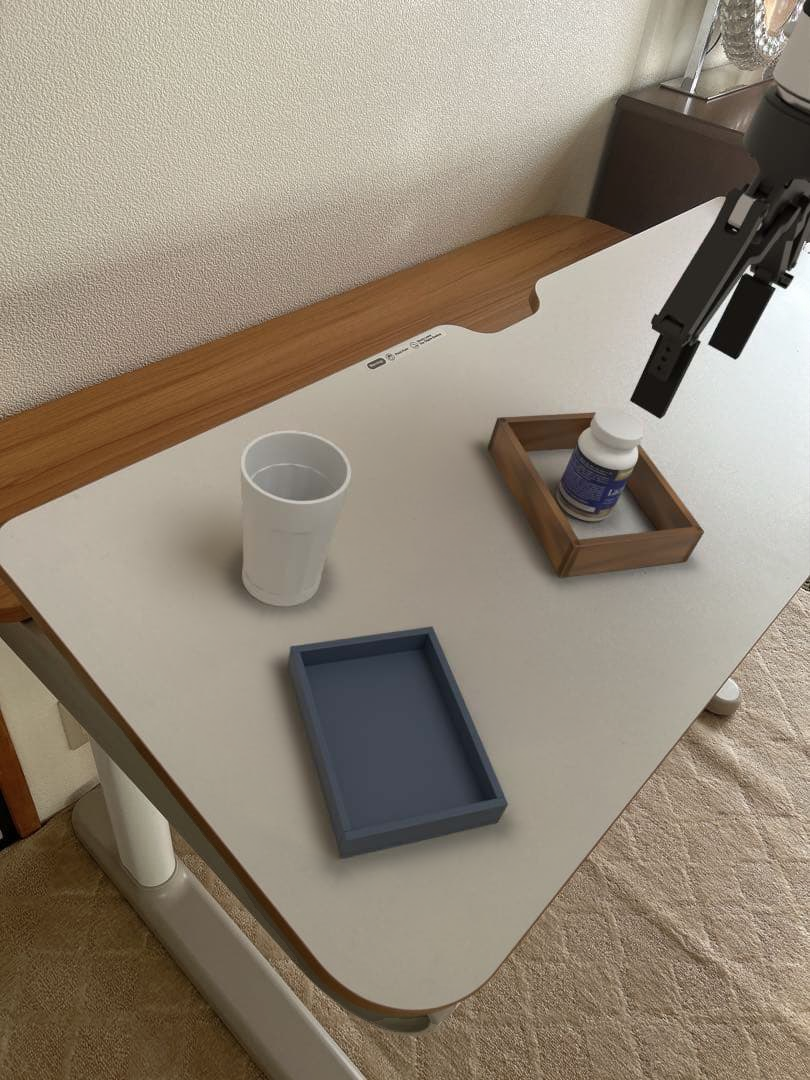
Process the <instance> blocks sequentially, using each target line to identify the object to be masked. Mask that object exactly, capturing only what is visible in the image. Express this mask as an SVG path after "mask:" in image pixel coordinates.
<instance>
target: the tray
mask: <svg viewBox="0 0 810 1080" xmlns="http://www.w3.org/2000/svg"><path fill="white" fill-rule="evenodd" d="M286 665H287V666H286V669H287V673H288V676H289V679H290V683H291V687H292V690H293V694H294V697H295V701H296V705H297V709H298V712H299V715H300V716H299V717H300V720H301V723H302V727H303V730H304V734H305V737H306V740H307V744H308V748H309V752H310V755H311V759H312V762H313V765H314V769H315V773H316V776H317V781H318V784H319V787H320V791H321V794H322V798H323V801H324V805H325V808H326V812H327V816H328V819H329V822H330V826H331V830H332V833H333V836H334V840H335V844H336V848H337V851H338V855H339V858H340V859H341V860H342V859H347V858H351V857H356V856H359V855H364V854H368V853H373V852H377V851H381V850H386V849H390V848H395V847H399V846H403V845H408V844H412V843H415V842H420V841H425V840H428V839H433V838H438V837H442V836H446V835H450V834H455V833H459V832H463V831H468V830H471V829H476V828H480V827H485V826H489V825H493V824H497V823H499V821H500V820H501V818H502V816H503V814H504V813H505V811H506V809H507V807H508V805H509V803H508V801H507V798H506V796H505V793H504V791H503V788H502V787H501V783H500V782H499V779H498V777H497V775H496V772H495V770H494V767H493V765H492V763H491V760H490V758H489V755H488V753H487V751H486V748H485V746H484V744H483V742H482V739H481V737H480V735H479V732H478V730H477V728H476V725H475V723H474V720H473V718H472V716H471V714H470V711H469V709H468V706H467V704H466V702H465V699H464V697H463V694H462V692H461V690H460V688H459V685H458V683H457V680H456V678H455V676H454V673H453V671H452V669H451V666H450V664H449V662H448V660H447V657H446V654H445V652H444V649H443V647H442V645H441V643H440V640H439V638H438V636H437V633H436V631H435V629H434V627H433V626H425V627H418V628H417V627H416V628H410V629H403V630H397V631H396V630H395V631H391V632H390V631H389V632H381V633H375V634H369V635H361V636H354V637H348V638H347V637H346V638H340V639H333V640H326V641H319V642H312V643H311V642H310V643H306V644H298V645H291V646H290V647H289V653H288V659H287V664H286Z"/></svg>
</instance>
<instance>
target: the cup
mask: <svg viewBox="0 0 810 1080" xmlns="http://www.w3.org/2000/svg"><path fill="white" fill-rule="evenodd" d="M239 467H240V468H239V469H240V491H241V493H240V495H241V501H242V503H241V504H242V505H241V507H242V509H241V510H242V554H243V555H242V556H243V557H242V558H243V559H242V571H241V572H242V573H241V578H242V583H243V587H244V588H245V589H246V591H247V592H248V593H249V594H250V595H251V596H252V597H253V598H254V599H256V600H258V601H260V602H261V603H264V604H267V605H269V606H274V607H293V606H297V605H301V604H303V603H306V602H308V600H310V599H311V598H312V597H314V595H316V593H317V591H318V590H319V587H320V584H321V580H322V579H321V578H322V573H323V570H324V567H325V563H326V560H327V557H328V553H329V551H330V547H331V543H332V541H333V537H334V534H335V530H336V526H337V524H338V520H339V517H340V514H341V509H342V507H343V504H344V501H345V497H346V494H347V492H348V488H349V485H350V482H351V480H352V479H351V478H352V466H351V463H350V460H349V459H348V457H347V456H346V454H345V453H344V452H343V450H342V449H341V448H339V446H338V445H336V444H335V443H333V442H332V441H330V440H328V439H326V438H325V437H323V436H320V435H317V434H314V433H311V432H307V431H300V430H276V431H272V432H268V433H265V434H262V435H260V436H258V437H256V438H254V439H253V440H252V441H250V442H249V443H248V444H247V445H246V446H245V447H244V449H243V451H242V453H241V456H240V461H239Z"/></svg>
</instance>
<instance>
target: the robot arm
mask: <svg viewBox="0 0 810 1080" xmlns="http://www.w3.org/2000/svg"><path fill="white" fill-rule="evenodd" d="M782 33H783V37H785V38H786V39H788V40H787V42H786V44H785V46H784V48H783V50H782V52H781V54H780V56H779V59H778V61H777V63H776V66H775V67H774V70H773V72H772V76H773V79H774V81H775V84H774V85H771V86H769V87H768V88H766V89H765V90H764V91H763V92H762V95H761V96H760V99H759V102H758V104H757V106H756V108H755V110H754V112H753V114H752V117H751V118H750V121H749V123H748V126H747V127H746V130H745V132H744V135H743V137H742V142H743V143H742V145H743V148H744V151H746V153H747V155H749V156H750V157H751V158H754V159H755V161H756V162H757V165H758V167H759V169H758V173H757V174H756V175H755V176H754V178H753V179H752V181H751V182H746V183H745V184H744V185H743V187H742V188H741V189H739V188H737V187H733V188H732V189H731V190H730V191H729V192H728V193H727V194H726V197H725V200H724V201H723V204H722V205H721V208H720V210H719V212H718V214H717V215H716V217H715V220H714V222H713V224H712V225H711V227H710V228H709V230H708V232H707V233H706V234H705V237H704V238H703V240H702V242H701V244H700V245H699V246H698V249H697V250H696V252H695V253H694V255H693V257H692V258H691V259H690V261H689V263H688V265H687V266H686V268H685V270H684V271H683V273H682V275H681V276H680V278H679V280H678V281H677V283H676V284H675V286H674V288H673V289H672V291H671V293H670V294H669V295H668V298H667V299H666V301H665V302H664V304H663V306H662V307H661V309H660V311H659V312H658V313H654V314H653V316H652V318H651V321H650V324H651V329H652V330H653V331H655V332H656V333H658V337H657V339H656V341H655V343H654V346H653V348H652V350H651V352H650V355H649V357H648V359H647V361H646V364H645V366H644V368H643V370H642V371H641V372H642V373H641V374H640V377H639V379H638V381H637V384H636V386H635V388H634V389H633V392H632V395H631V396H630V399H629V402H631V403H633V404H634V405H636V406H638V407H639V408H641V409H642V410H644V411H645V412H647V413H649V414H650V415H653V416H654V417H656V418H658V419H659V420H661V419H662V418H664V416H666V414H667V411H668V409H669V408H670V406H671V404H672V402H673V400H674V397H675V395H676V394H677V391H678V390H679V388H680V385H681V384H682V381H683V379H684V378H685V375H686V374H687V371H688V369H689V368H690V365H691V364H692V361H693V359H694V357H695V355H696V353H697V351H698V349H699V347H700V345H701V344H702V341H701V340H700V339H699V338H700V336H701V334H702V333H703V332H704V330H705V329H706V327H707V326H708V324H709V323H710V322H711V320H712V319H713V318H714V316H715V314H716V313H717V312H718V310H719V309H720V308H721V306H722V305H723V303H724V302H725V300H726V299H727V297H728V296H729V295H730V293H731V292H732V290H733V289H734V288H735V289H734V291H733V293H732V295H731V297H730V299H729V301H728V303H727V304H726V307H725V309H724V311H723V313H722V314H721V316H720V319H719V321H718V323H717V325H716V327H715V329H714V331H713V333H712V335H711V337H710V338H709V340H708V342H707V345H708V346H710V347H712V348H713V349H715V350H717V351H718V352H721V353H722V354H724V355H725V356H728V357H729V358H731V359H733V360H735V361H736V360H737V359H738V358H740V357H741V355H742V353H743V351H744V349H745V347H746V345H747V343H748V342H749V340H750V338H751V337H752V334H753V332H754V330H755V328H756V326H757V325H758V323H759V321H760V320H761V318H762V316H763V314H764V312H765V310H766V308H767V306H768V305H769V302H770V301H771V300H772V297H773V295H774V293H775V291H776V289H777V288H776V287H774V286H772V285H773V284H774V285H776V286H778V287H779V288H781V289H784V290H787V289H788V288H789V286H790V285H791V284H792V282H793V280H794V278H795V276H794V275H793V274H791V273H789V272H791V271H792V270H793V269H794V268H796V266H797V264H798V260H799V257H800V255H801V252H802V250H803V247H804V245H805V242H806V239H807V237H808V234H809V232H810V0H804V2H803V5H802V8H801V10H800V12H799V14H798V16H797V18H796V20H789V21H788V22H787V23H786V24H785V26H784V27H783V31H782ZM748 268H749V272H750V273H752V274H753V275H751V274H749V273H748V272H746V271H747V270H748ZM735 286H736V287H735Z"/></svg>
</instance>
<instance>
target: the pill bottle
mask: <svg viewBox="0 0 810 1080" xmlns="http://www.w3.org/2000/svg"><path fill="white" fill-rule="evenodd" d="M644 435H645V426H644V424H643V423H642V422H641V420H640V419H639V418H637V416H635V415H633V414H632V413H630V412H629V411H626V410H624V409H622V408H616V407H602V408H600V409H598V410H596V413H595V415H594V417H593V419H592V421H591V424H590V427H589V428H587V429H586V430H584V431H583V432H582V434H581V435H580V437H579V439H578V441H577V444H576V446H575V448H573V451H572V453H571V456H570V458H569V460H568V463H567V465H566V467H565V469H564V471H563V474H562V476H561V478H560V481H559V483H558V485H557V489H556V492H555V493H556V500H557V502H558V504H559V506H560V507H561V508H562V510H564V511H565V512H566V513H567V514H569V515H571V516H573V517H574V518H576V519H579V520H581V521H586V522H599V521H603V520H605V519H607V518H608V517H610V516H611V514H612V513H613V510H614V509H615V507H616V505H617V503H618V501H619V498H620V497H621V494H622V492H623V490H624V489H625V486H626V482H627V480H628V478H629V476H630V474H631V472H632V470H633V468H634V466H635V464H636V462H637V459H638V449H637V446H638V445H639V444H640V445H641V441H642V439H643V437H644Z"/></svg>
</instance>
